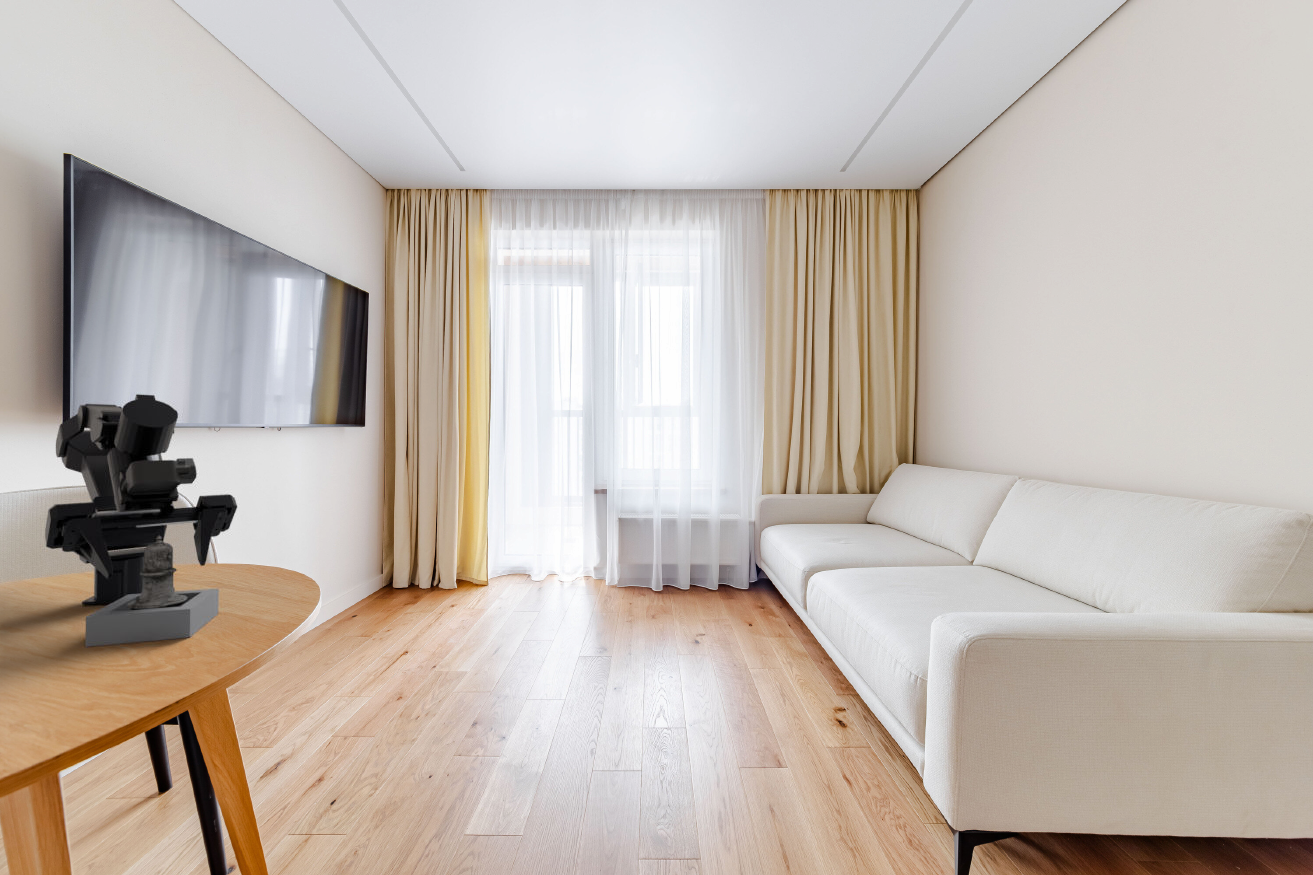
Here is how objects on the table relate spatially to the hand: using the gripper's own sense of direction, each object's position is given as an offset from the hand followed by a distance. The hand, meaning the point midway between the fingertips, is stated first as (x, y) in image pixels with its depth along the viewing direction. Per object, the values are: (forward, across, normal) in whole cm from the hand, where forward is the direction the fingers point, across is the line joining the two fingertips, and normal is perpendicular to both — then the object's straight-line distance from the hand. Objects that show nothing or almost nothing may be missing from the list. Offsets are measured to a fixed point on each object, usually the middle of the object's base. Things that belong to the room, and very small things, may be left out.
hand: (159, 569), depth 74 cm
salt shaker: (+5, 0, +6) cm, 8 cm away
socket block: (+5, 0, +6) cm, 8 cm away
